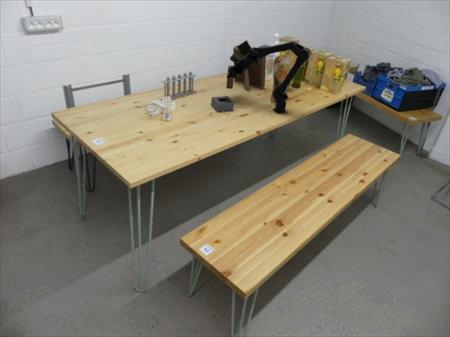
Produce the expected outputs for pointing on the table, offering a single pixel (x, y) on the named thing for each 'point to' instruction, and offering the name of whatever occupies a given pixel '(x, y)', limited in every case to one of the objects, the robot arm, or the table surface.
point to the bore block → (222, 103)
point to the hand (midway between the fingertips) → (228, 76)
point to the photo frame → (251, 73)
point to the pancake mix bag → (280, 71)
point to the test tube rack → (179, 85)
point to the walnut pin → (229, 81)
